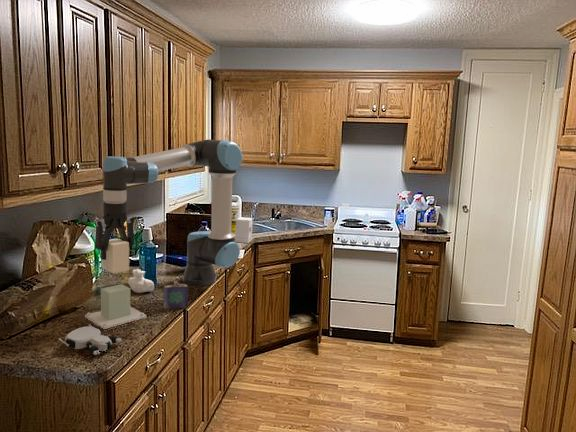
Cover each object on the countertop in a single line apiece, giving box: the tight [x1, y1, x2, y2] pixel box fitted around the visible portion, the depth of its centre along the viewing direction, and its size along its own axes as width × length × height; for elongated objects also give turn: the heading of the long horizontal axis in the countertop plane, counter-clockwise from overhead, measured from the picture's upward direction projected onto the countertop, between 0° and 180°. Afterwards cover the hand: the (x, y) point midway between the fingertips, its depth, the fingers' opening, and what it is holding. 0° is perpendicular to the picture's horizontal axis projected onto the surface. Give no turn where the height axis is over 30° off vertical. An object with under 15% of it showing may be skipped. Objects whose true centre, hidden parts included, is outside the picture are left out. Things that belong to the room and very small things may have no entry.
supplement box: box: [234, 216, 254, 244], centre depth 292 cm, size 9×9×15 cm
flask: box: [162, 280, 189, 310], centre depth 177 cm, size 9×3×11 cm, turn 109°
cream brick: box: [100, 238, 130, 274], centre depth 160 cm, size 6×8×10 cm
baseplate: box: [84, 306, 147, 329], centre depth 164 cm, size 16×14×2 cm
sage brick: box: [100, 283, 131, 320], centre depth 163 cm, size 8×6×10 cm
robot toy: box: [58, 323, 123, 356], centre depth 142 cm, size 12×4×15 cm
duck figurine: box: [127, 268, 155, 294], centre depth 191 cm, size 12×8×11 cm
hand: (115, 266), depth 161 cm, fingers closed on cream brick, 6 cm apart
